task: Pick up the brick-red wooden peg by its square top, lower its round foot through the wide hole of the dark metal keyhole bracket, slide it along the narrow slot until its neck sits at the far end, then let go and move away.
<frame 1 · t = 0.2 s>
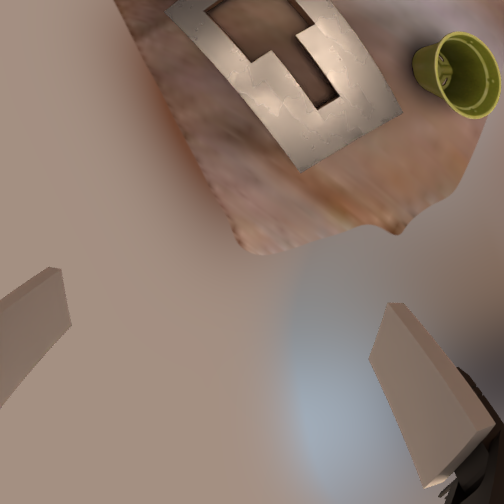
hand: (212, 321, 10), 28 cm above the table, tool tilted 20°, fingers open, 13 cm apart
plant pot: (431, 69, 25), on the table
slot bracket: (287, 51, 26), on the table
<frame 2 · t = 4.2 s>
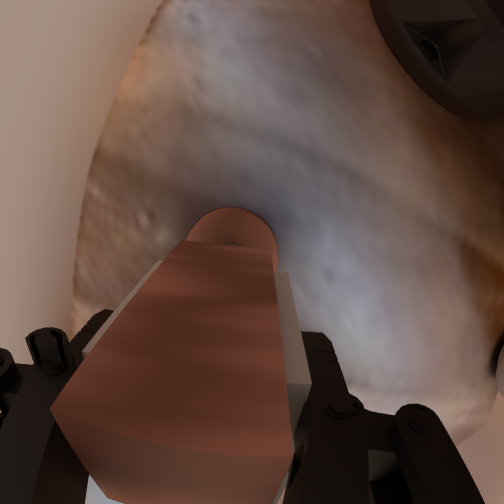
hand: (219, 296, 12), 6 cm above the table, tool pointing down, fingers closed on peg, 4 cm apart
peg: (231, 251, 18), on the table, touching gripper
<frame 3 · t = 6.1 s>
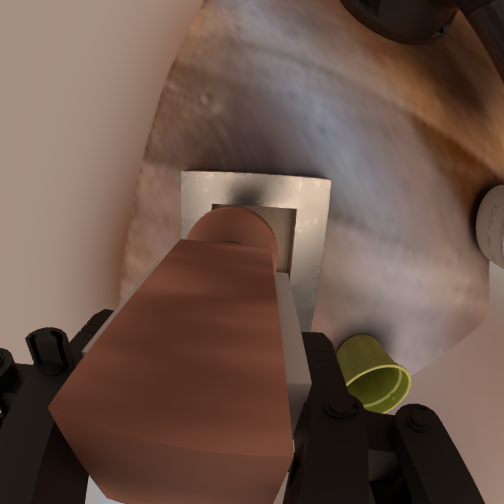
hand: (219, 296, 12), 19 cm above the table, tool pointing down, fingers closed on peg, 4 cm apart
plant pot: (357, 350, 36), on the table
teacup: (492, 227, 30), on the table
slot bracket: (250, 279, 33), on the table
peg: (231, 250, 18), point 13 cm above the table, touching gripper
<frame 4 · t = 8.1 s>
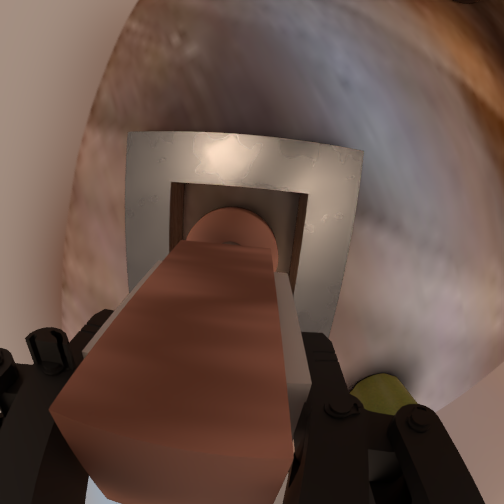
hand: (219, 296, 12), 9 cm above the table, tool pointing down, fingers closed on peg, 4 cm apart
plant pot: (372, 391, 26), on the table
slot bracket: (232, 300, 22), on the table
peg: (231, 251, 18), point 3 cm above the table, touching gripper
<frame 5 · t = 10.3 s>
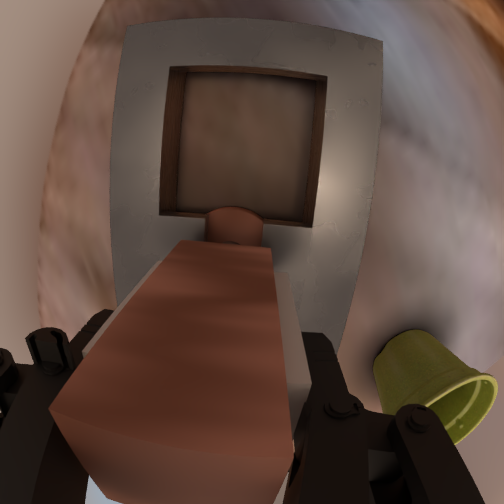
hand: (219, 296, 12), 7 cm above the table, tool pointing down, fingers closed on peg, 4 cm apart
plant pot: (403, 355, 22), on the table
slot bracket: (237, 224, 18), on the table
peg: (231, 251, 18), point 1 cm above the table, touching gripper
when the fingers open (7 cm above the table, at t = 12.3 s): peg stays where it is, on the table.
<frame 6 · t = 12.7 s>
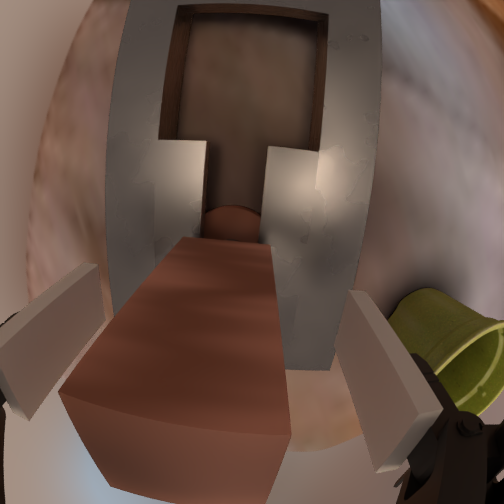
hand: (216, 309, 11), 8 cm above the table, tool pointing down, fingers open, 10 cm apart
plant pot: (416, 319, 20), on the table
slot bracket: (239, 162, 17), on the table
peg: (232, 248, 19), on the table
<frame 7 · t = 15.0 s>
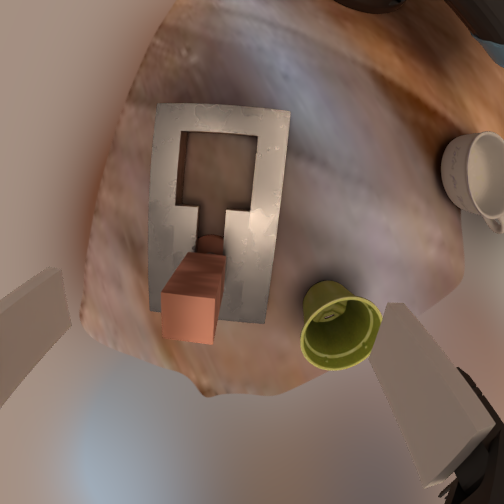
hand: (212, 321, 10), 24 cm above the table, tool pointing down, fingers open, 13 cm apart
plant pot: (325, 300, 37), on the table
teacup: (460, 181, 32), on the table
slot bracket: (215, 212, 34), on the table
peg: (212, 257, 35), on the table
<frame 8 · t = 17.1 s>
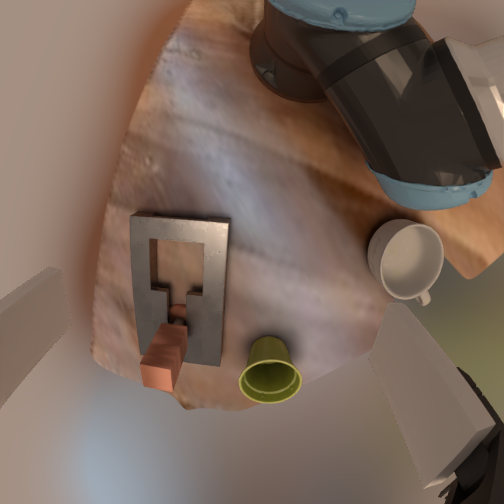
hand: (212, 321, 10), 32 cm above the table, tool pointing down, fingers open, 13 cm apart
plant pot: (269, 348, 49), on the table
teacup: (393, 254, 43), on the table
slot bracket: (181, 289, 45), on the table
peg: (182, 318, 47), on the table
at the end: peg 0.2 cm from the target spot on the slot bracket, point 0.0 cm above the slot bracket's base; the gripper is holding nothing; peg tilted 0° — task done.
